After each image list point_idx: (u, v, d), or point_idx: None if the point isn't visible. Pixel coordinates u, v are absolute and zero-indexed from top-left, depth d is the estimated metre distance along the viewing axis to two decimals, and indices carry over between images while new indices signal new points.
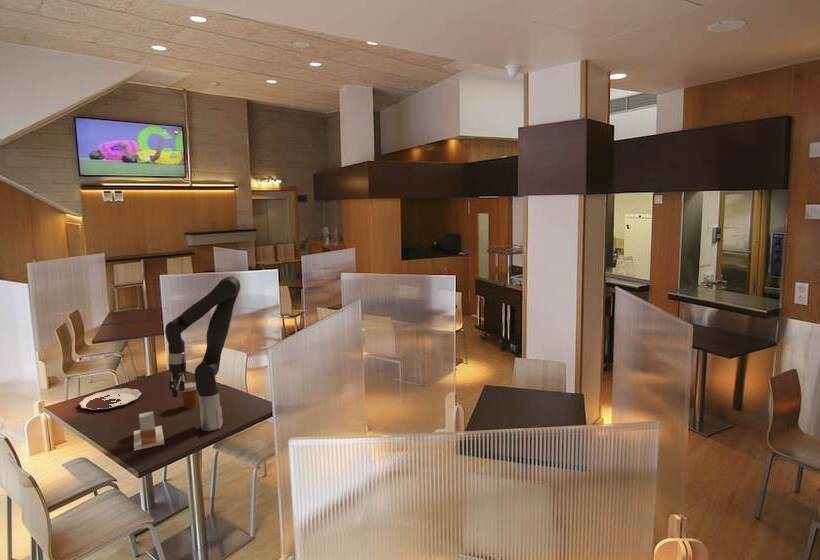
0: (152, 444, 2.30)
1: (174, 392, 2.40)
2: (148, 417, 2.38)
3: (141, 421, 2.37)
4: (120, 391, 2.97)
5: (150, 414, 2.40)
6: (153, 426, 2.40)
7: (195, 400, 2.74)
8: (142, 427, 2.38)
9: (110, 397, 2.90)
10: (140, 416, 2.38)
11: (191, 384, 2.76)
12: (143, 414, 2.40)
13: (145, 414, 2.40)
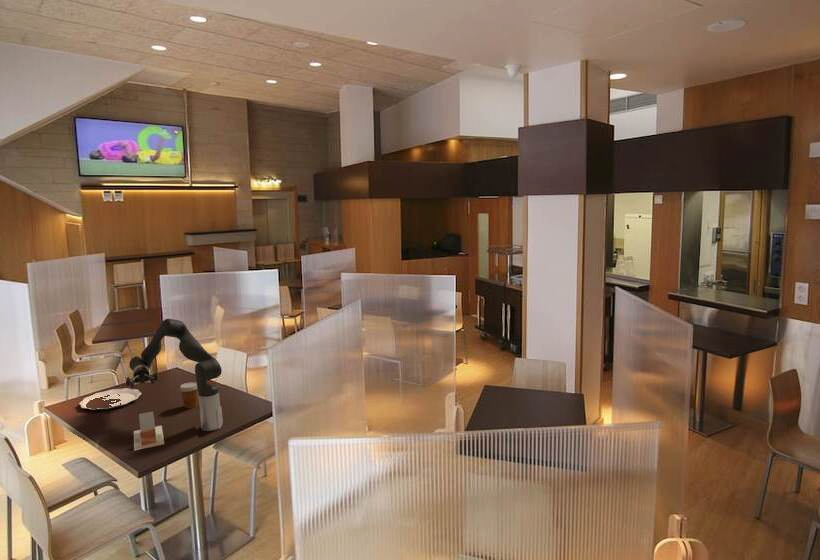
0: (152, 444, 2.30)
1: None
2: (148, 417, 2.38)
3: (141, 421, 2.37)
4: (120, 391, 2.97)
5: (150, 414, 2.40)
6: (153, 426, 2.40)
7: (195, 400, 2.74)
8: (142, 427, 2.38)
9: (110, 397, 2.90)
10: (140, 416, 2.38)
11: (191, 384, 2.76)
12: (143, 414, 2.40)
13: (145, 414, 2.40)
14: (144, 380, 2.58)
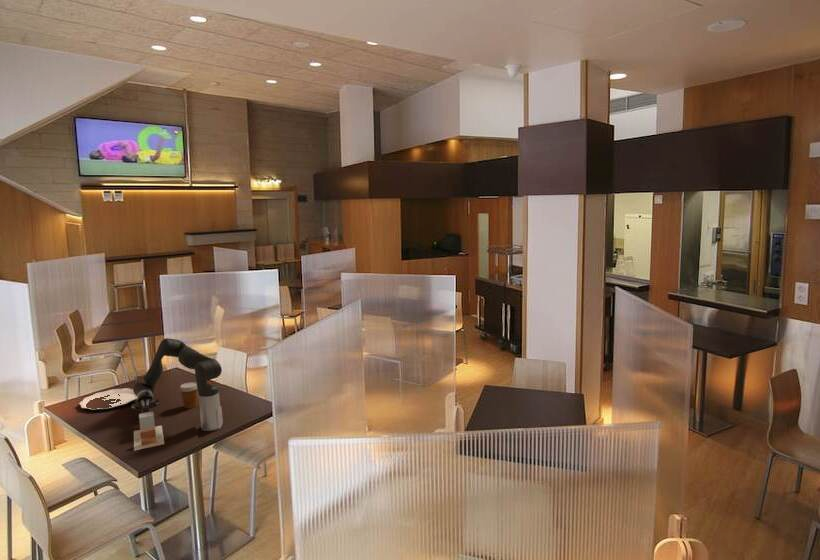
0: (152, 444, 2.30)
1: (142, 408, 2.55)
2: (148, 417, 2.38)
3: (141, 421, 2.37)
4: (120, 391, 2.97)
5: (150, 414, 2.40)
6: (153, 426, 2.40)
7: (195, 400, 2.74)
8: (142, 427, 2.38)
9: (110, 397, 2.90)
10: (140, 416, 2.38)
11: (191, 384, 2.76)
12: (143, 414, 2.40)
13: (145, 414, 2.40)
14: None
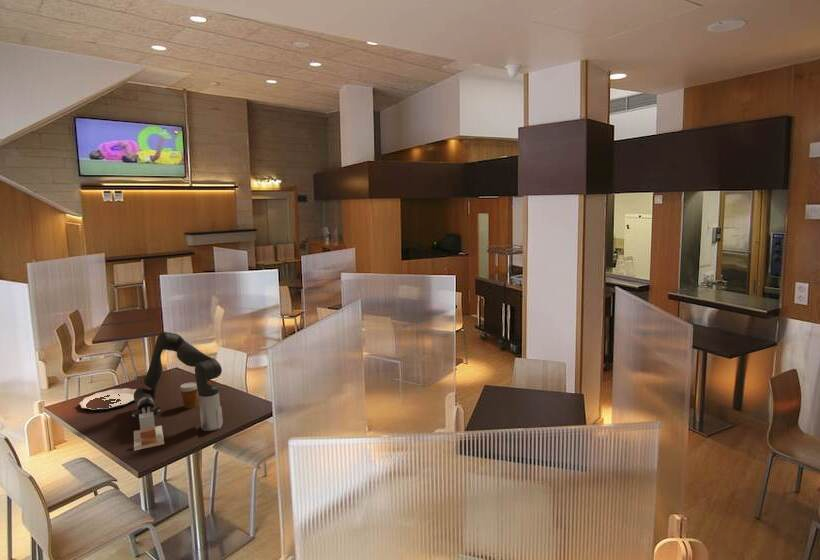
0: (152, 444, 2.30)
1: None
2: (148, 418, 2.38)
3: (141, 421, 2.37)
4: (120, 391, 2.97)
5: (150, 414, 2.40)
6: (153, 426, 2.40)
7: (195, 400, 2.74)
8: (142, 428, 2.37)
9: (110, 397, 2.90)
10: (140, 416, 2.38)
11: (191, 384, 2.76)
12: (143, 414, 2.40)
13: (145, 415, 2.39)
14: None
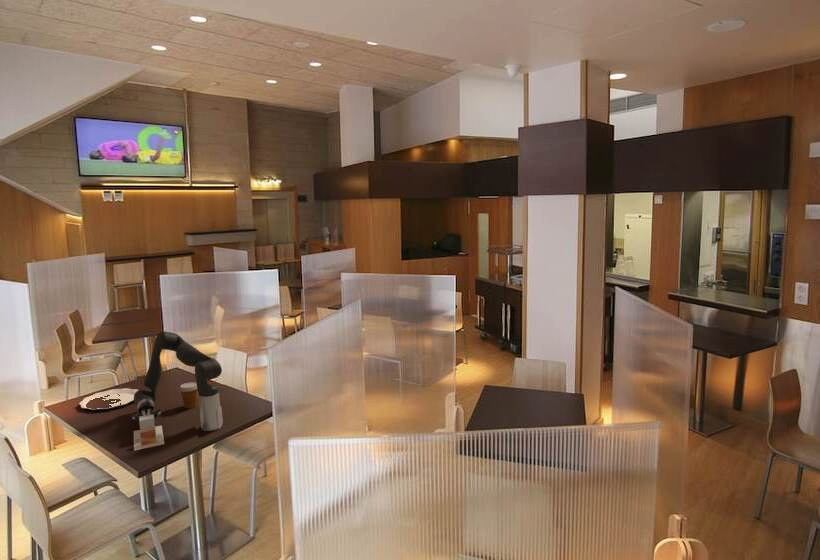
0: (152, 444, 2.30)
1: None
2: (148, 420, 2.35)
3: (141, 424, 2.34)
4: (120, 391, 2.97)
5: (150, 417, 2.37)
6: None
7: (195, 400, 2.74)
8: (142, 430, 2.35)
9: (110, 397, 2.90)
10: (140, 419, 2.35)
11: (191, 384, 2.76)
12: (143, 417, 2.37)
13: (145, 417, 2.37)
14: None
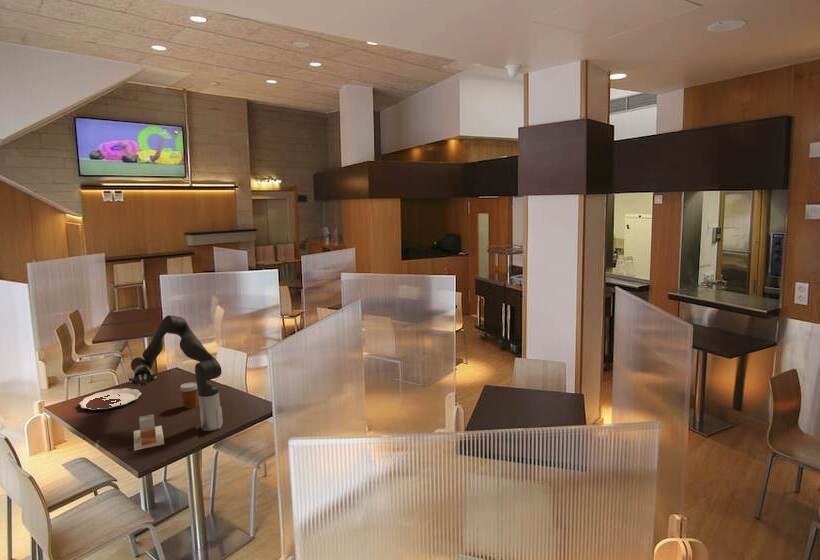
0: (152, 444, 2.30)
1: (140, 382, 2.50)
2: (148, 420, 2.35)
3: (141, 424, 2.34)
4: (120, 391, 2.97)
5: (150, 417, 2.37)
6: None
7: (195, 400, 2.74)
8: (142, 430, 2.35)
9: (110, 397, 2.90)
10: (140, 419, 2.35)
11: (191, 384, 2.77)
12: (143, 417, 2.37)
13: (145, 417, 2.37)
14: None
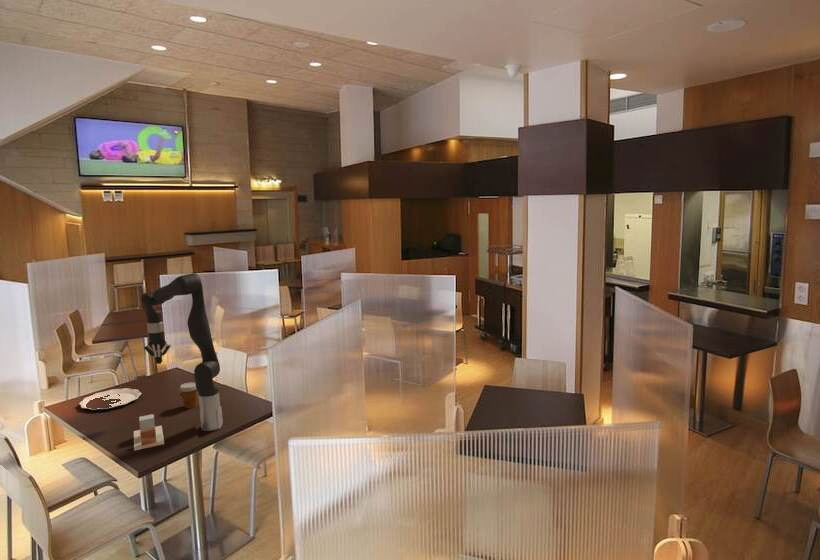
0: (152, 444, 2.30)
1: None
2: (148, 420, 2.35)
3: (141, 424, 2.34)
4: (120, 391, 2.97)
5: (150, 417, 2.37)
6: None
7: (195, 400, 2.74)
8: (142, 430, 2.35)
9: (110, 397, 2.90)
10: (140, 419, 2.35)
11: (191, 384, 2.76)
12: (143, 417, 2.37)
13: (145, 417, 2.37)
14: None
